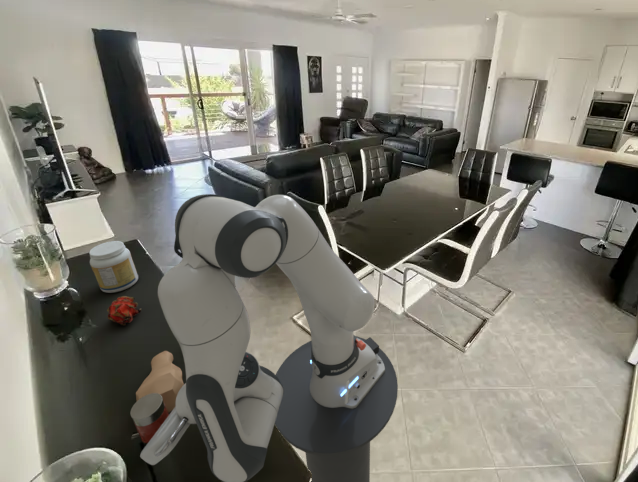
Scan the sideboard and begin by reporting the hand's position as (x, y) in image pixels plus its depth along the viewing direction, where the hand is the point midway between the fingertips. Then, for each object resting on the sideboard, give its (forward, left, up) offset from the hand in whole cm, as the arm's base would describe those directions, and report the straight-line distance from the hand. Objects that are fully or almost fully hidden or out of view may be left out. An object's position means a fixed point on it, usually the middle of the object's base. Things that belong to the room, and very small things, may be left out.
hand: (171, 418), depth 73 cm
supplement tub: (+2, -78, -8) cm, 79 cm away
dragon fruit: (+3, -54, -8) cm, 55 cm away
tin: (+3, -4, -7) cm, 9 cm away
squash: (0, -16, -8) cm, 18 cm away
